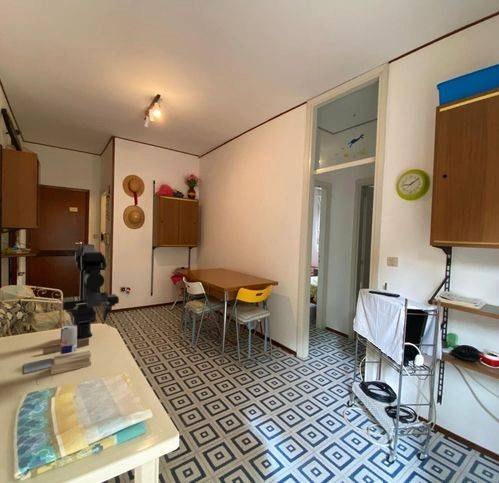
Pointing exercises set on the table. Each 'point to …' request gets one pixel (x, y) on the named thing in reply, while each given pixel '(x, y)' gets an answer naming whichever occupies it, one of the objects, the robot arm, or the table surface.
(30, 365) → the slate pad
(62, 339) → the energy drink
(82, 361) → the offcut stack
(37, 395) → the table surface
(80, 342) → the walnut back board
